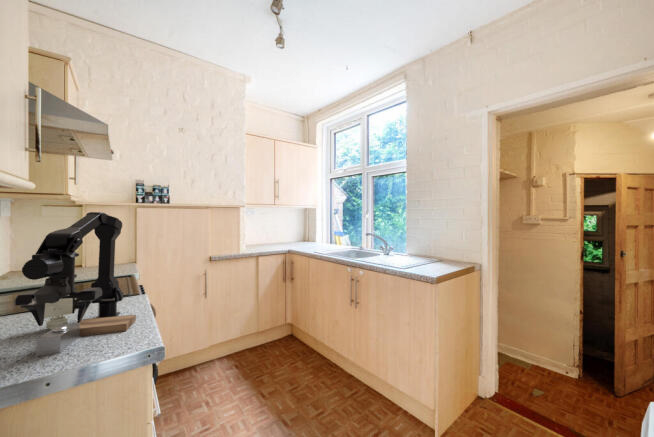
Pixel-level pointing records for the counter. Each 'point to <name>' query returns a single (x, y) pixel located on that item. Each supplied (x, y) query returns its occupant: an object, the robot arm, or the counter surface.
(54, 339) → the housing
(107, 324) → the walnut stand
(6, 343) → the counter surface
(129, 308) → the counter surface
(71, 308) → the pneumatic valve
